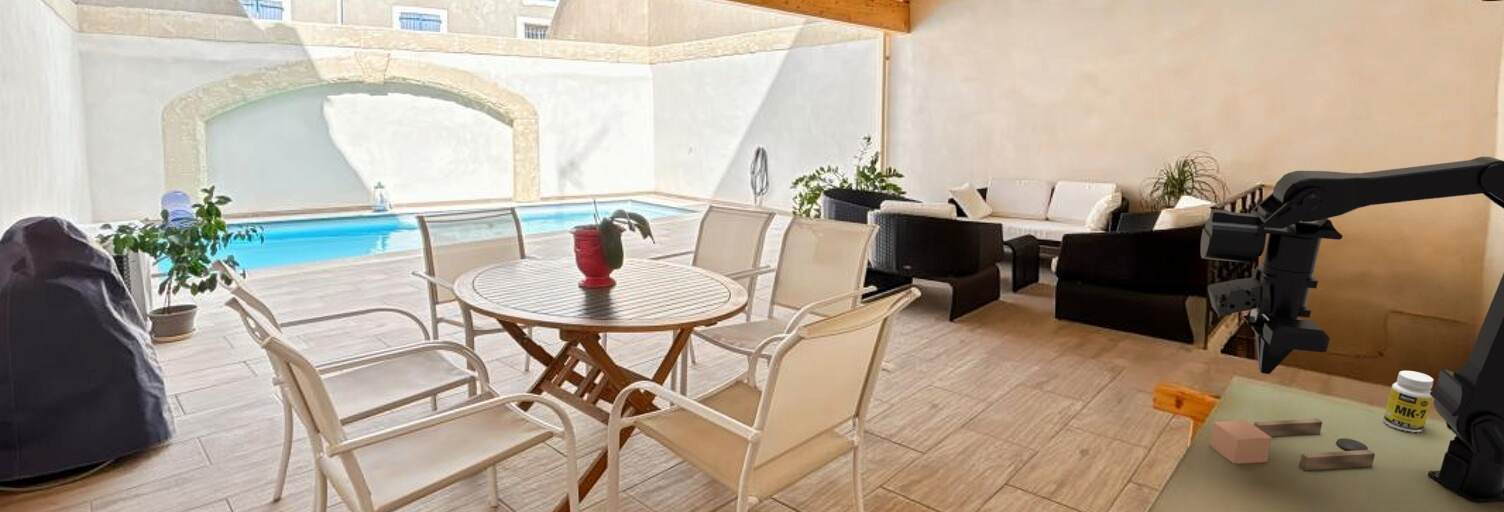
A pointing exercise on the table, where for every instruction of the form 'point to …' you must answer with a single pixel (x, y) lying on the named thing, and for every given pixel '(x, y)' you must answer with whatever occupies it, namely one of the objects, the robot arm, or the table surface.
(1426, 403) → the supplement bottle
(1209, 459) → the table surface
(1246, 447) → the terracotta block
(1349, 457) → the channel
